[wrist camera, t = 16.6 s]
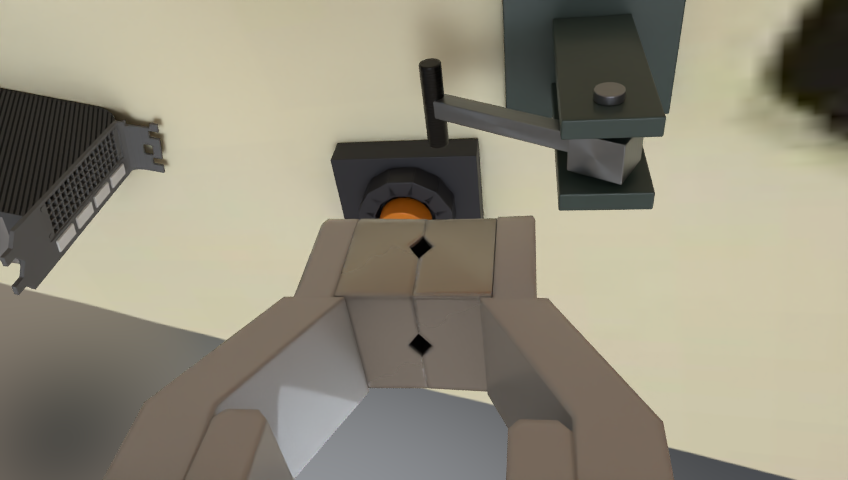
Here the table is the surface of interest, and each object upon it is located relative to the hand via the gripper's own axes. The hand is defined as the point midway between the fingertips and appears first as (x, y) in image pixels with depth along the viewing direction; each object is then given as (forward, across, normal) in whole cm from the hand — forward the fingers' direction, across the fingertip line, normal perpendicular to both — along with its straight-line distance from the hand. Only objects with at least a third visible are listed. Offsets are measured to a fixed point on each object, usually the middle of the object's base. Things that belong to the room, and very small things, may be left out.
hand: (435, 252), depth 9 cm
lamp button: (+27, +7, +21) cm, 35 cm away
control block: (+31, +7, +21) cm, 38 cm away
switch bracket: (+31, -5, +11) cm, 33 cm away
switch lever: (+23, -2, +11) cm, 26 cm away
